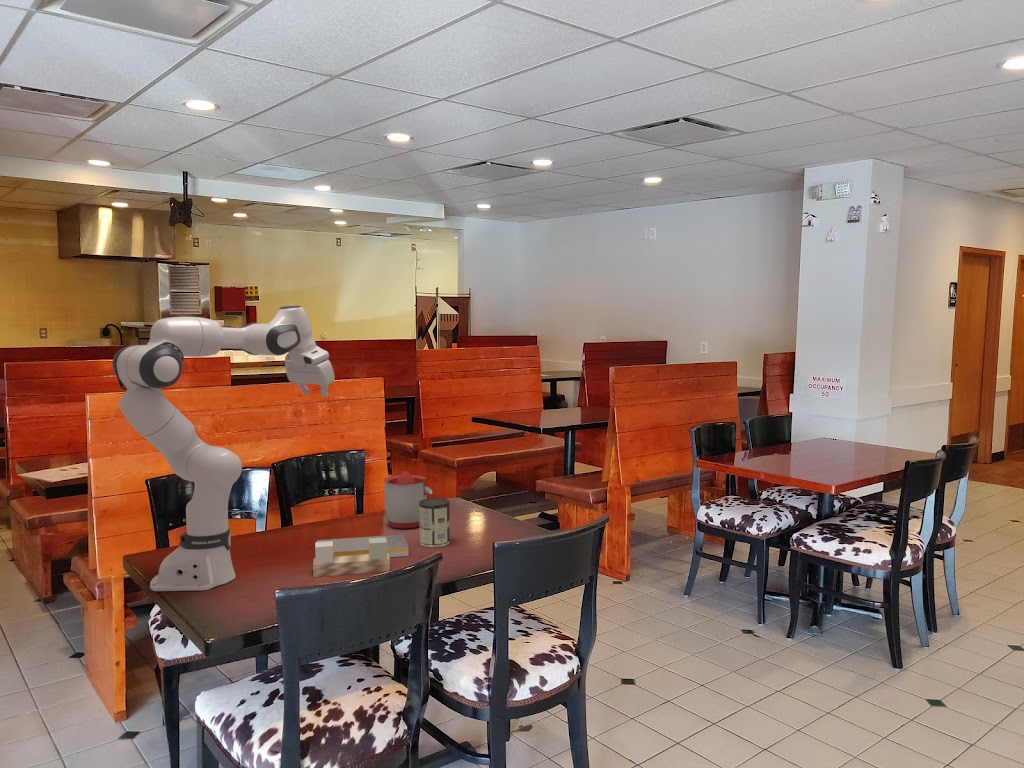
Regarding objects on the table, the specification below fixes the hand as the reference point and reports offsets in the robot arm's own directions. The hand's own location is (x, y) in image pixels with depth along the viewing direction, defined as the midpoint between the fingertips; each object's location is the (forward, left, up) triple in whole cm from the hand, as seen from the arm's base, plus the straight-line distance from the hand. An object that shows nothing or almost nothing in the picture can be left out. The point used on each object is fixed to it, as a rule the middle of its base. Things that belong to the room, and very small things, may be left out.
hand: (315, 395), depth 245 cm
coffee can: (+37, -3, -50) cm, 63 cm away
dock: (+13, -8, -50) cm, 53 cm away
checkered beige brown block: (+9, -25, -51) cm, 57 cm away
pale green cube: (+17, -25, -47) cm, 56 cm away
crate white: (+2, -25, -47) cm, 53 cm away
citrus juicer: (+31, +21, -50) cm, 63 cm away
